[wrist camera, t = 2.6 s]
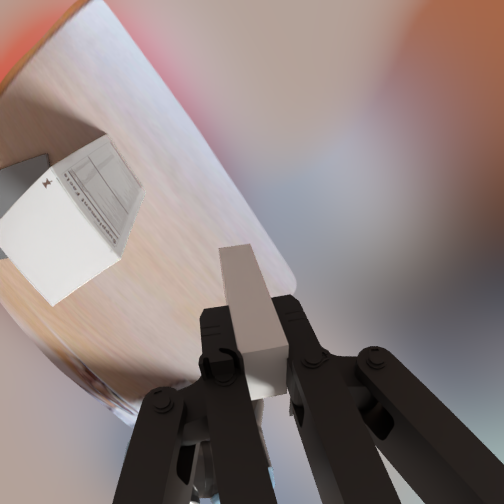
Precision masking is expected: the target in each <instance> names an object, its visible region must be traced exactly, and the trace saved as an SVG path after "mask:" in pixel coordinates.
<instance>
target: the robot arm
mask: <svg viewBox="0 0 504 504" xmlns="http://www.w3.org/2000/svg"><path fill="white" fill-rule="evenodd" d="M219 255H220V263H221V270H222V278H223V285H224V292H225V298H226V304H227V306H221V307H214V308H207V309H204V310H203V312H202V314H201V316H200V329H201V342H202V353H203V354H202V355H201V356H200V358H199V364H198V365H199V368H200V371H201V377H200V378H199V380H197V381H196V382H195V383H194V384H192V385H190V386H188V387H186V388H183V389H181V390H178V391H177V390H176V389H174V388H171V387H158V388H156V389H153V390H151V391H150V392H149V393H148V394H147V395H146V396H145V398H144V400H143V402H142V405H141V408H140V411H139V414H138V417H137V420H136V424H135V427H134V430H133V434H132V437H131V439H130V441H129V443H128V445H127V448H126V452H125V457H124V463H123V467H122V471H121V474H120V477H119V481H118V485H117V488H116V492H115V496H114V499H113V503H112V504H200V500H199V498H211V502H212V503H213V504H277V500H276V497H275V493H274V489H273V488H274V486H275V481H274V476H273V467H272V466H271V462H270V458H269V455H268V451H267V447H266V444H265V440H264V436H263V433H262V428H261V422H262V415H263V408H264V401H263V398H267V397H272V396H277V395H282V394H286V393H287V388H288V391H289V394H290V409H289V412H290V416H293V415H294V419H295V421H296V425H297V428H298V431H299V434H300V437H301V440H302V443H303V446H304V449H305V452H306V455H307V458H308V461H309V464H310V467H311V470H312V473H313V476H314V479H315V482H316V485H317V488H318V491H319V494H320V497H321V500H322V503H323V504H401V502H400V499H399V497H398V495H397V492H396V490H395V488H394V486H393V484H392V481H391V479H390V477H389V475H388V472H387V470H386V468H385V466H384V464H383V462H382V460H381V457H380V455H379V453H378V451H377V448H378V449H379V450H380V451H381V453H382V454H383V455H384V456H385V457H386V458H387V460H388V461H389V462H390V463H391V464H392V465H393V467H394V468H395V469H396V470H397V471H398V473H399V474H400V475H401V476H402V477H403V479H404V480H405V481H406V482H407V483H408V484H409V486H410V487H411V488H412V489H413V490H414V491H415V492H416V494H418V496H419V497H420V498H421V499H422V501H423V502H424V503H425V504H504V464H503V463H502V462H501V461H500V460H499V459H498V458H497V457H496V456H495V455H494V454H493V453H492V452H491V451H490V450H489V449H488V448H487V447H486V446H485V445H484V444H483V443H482V442H481V441H480V440H479V439H478V438H477V437H476V436H475V435H474V434H473V433H472V432H471V431H470V430H469V429H468V428H467V427H466V426H465V425H464V424H463V423H462V422H461V421H460V420H459V419H458V418H457V417H456V416H455V415H454V414H453V413H452V412H451V411H450V410H449V409H448V408H447V407H446V406H445V405H444V404H443V403H442V402H441V401H440V400H439V399H438V398H437V397H436V396H435V395H434V394H433V393H432V392H431V391H430V390H429V389H428V388H427V387H426V386H425V385H424V384H423V383H422V382H420V380H419V379H418V378H417V377H415V376H414V375H413V374H412V373H411V372H410V371H409V370H408V369H407V368H406V367H405V366H404V365H403V364H402V363H401V362H400V361H399V360H398V359H397V358H396V357H395V356H394V355H393V354H391V353H390V352H389V351H388V350H386V349H384V348H381V347H378V346H370V347H367V348H364V349H363V350H362V351H361V352H359V355H358V357H351V356H350V357H349V356H345V357H344V356H336V355H333V354H330V352H329V351H328V350H326V349H324V348H323V347H322V346H321V345H320V344H319V341H318V339H317V337H316V335H315V333H314V331H313V329H312V327H311V325H310V323H309V321H308V319H307V317H306V314H305V312H304V311H303V308H302V306H301V304H300V302H299V301H298V300H297V299H295V298H294V297H293V296H292V295H284V296H278V297H273V298H271V297H270V294H269V292H268V289H267V287H266V284H265V281H264V279H263V276H262V273H261V271H260V268H259V266H258V263H257V260H256V258H255V255H254V252H253V250H252V247H251V245H250V244H245V245H238V246H231V247H224V248H219ZM375 445H376V447H377V448H376V447H375Z"/></svg>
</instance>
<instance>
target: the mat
mask: <svg viewBox="0 0 504 504" xmlns="http://www.w3.org/2000/svg"><path fill="white" fill-rule="evenodd" d="M49 168H50V164H49V159H48V154H44V155H41V156H38V157H34V158H31V159H28V160H25V161H23V162H20V163H17V164H14V165H11V166H9V167H6V168H3V169H1V170H0V219H1V217H2V216H3V215H4V214H5V213H6V212H7V211H8V210H9V208H10V207H11V206H12V205H13V204H14V203H15V202H16V201H17V200H18V199H19V198H20V197H21V196H22V195H23V194H24V193H25V192H26V191H27V190H28V189H29V188H30V187H31V186H32V185H33V184H34V183H35V182H36V181H37V180H38V179H39V178H40V177H41V176H42V175H43V174H44V173H45V172H46V171H47V170H48V169H49ZM5 258H8V256H7V255H6V254H5V253H4V252H3V250H2V249H1V248H0V259H5Z"/></svg>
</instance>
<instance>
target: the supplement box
mask: <svg viewBox="0 0 504 504" xmlns="http://www.w3.org/2000/svg"><path fill="white" fill-rule="evenodd" d="M145 194H146V191H145V189H144V188H143V186H142V185H141V183H140V182H139V180H138V179H137V177H136V176H135V174H134V173H133V171H132V170H131V169H130V167H129V166H128V164H127V163H126V161H125V160H124V158H123V157H122V155H121V154H120V153H119V151H118V150H117V148H116V147H115V145H114V144H113V142H112V140H111V139H110V137H109V136H108V135H107V134H105V135H103V136H101V137H100V138H98V139H96V140H94V141H93V142H91V143H89V144H87V145H85V146H84V147H82V148H80V149H78V150H77V151H75V152H73V153H72V154H70V155H69V156H67V157H65V158H64V159H62V160H60V161H59V162H57V163H56V164H54V165H53V166H51V167H50V168H49V169H48V170H47V171H46V172H45V173H44V174H43V175H42V176H41V177H40V178H39V179H38V180H37V181H36V182H35V183H34V184H33V185H32V186H31V187H30V188H29V189H28V190H27V191H26V192H25V193H24V194H23V195H22V196H21V197H20V198H19V199H18V200H17V201H16V202H15V203H14V204H13V205H12V206H11V207H10V208H9V210H8V211H7V212H6V213H5V214H4V215H3V216H2V217H1V219H0V248H1V249H2V250H3V252H4V253H5V254H6V255H7V256H8V258H9V259H10V260H11V261H12V263H13V264H14V265H15V266H16V267H17V269H18V270H19V271H20V272H21V273H22V274H23V276H24V277H25V278H26V279H27V280H28V281H29V282H30V283H31V284H32V286H33V287H34V288H35V289H36V290H37V291H38V292H39V293H40V294H41V295H42V296H43V298H44V299H45V300H46V301H47V302H48V303H49V304H50V305H51V306H52V307H53V306H54V305H55V304H57V303H58V302H60V301H61V300H62V299H64V298H65V297H67V296H68V295H69V294H71V293H72V292H73V291H75V290H76V289H78V288H79V287H81V286H82V285H83V284H85V283H86V282H88V281H89V280H91V279H92V278H94V277H95V276H97V275H98V274H99V273H101V272H102V271H104V270H105V269H107V268H108V267H110V266H111V265H113V264H114V263H116V262H118V261H119V260H120V259H121V257H122V254H123V252H124V249H125V246H126V243H127V240H128V237H129V235H130V232H131V229H132V227H133V224H134V222H135V219H136V216H137V213H138V211H139V208H140V206H141V203H142V201H143V199H144V196H145Z"/></svg>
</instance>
